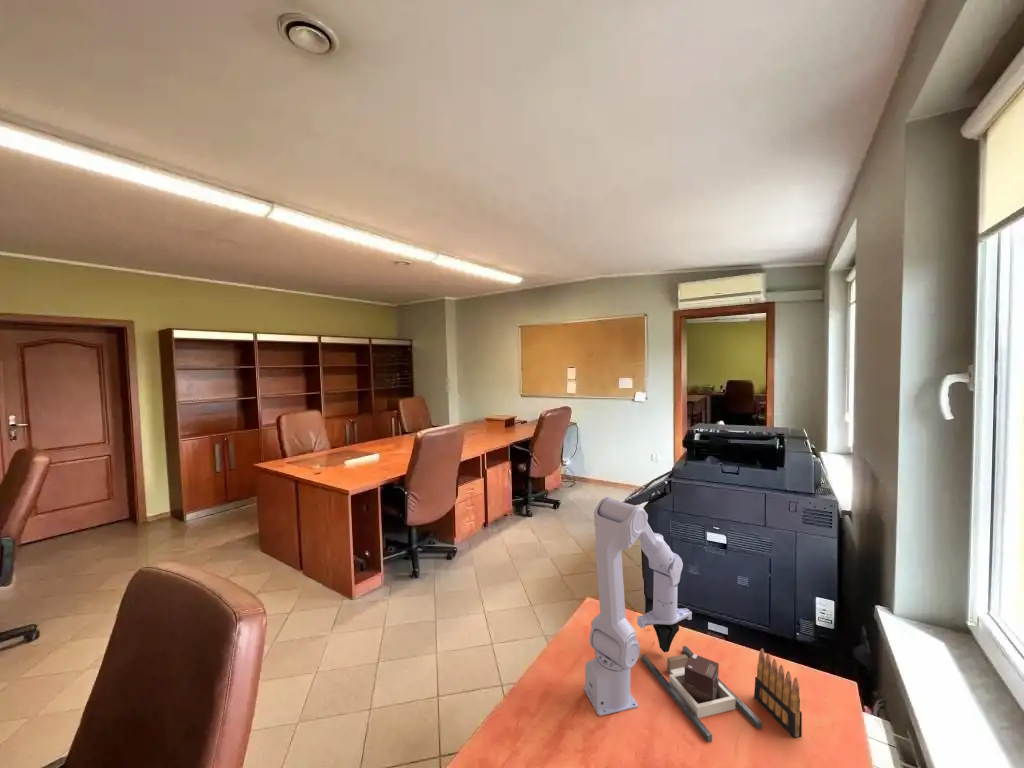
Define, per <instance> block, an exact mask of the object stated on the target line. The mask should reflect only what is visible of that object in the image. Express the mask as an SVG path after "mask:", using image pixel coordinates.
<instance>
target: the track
mask: <svg viewBox="0 0 1024 768" xmlns="http://www.w3.org/2000/svg"><path fill="white" fill-rule="evenodd" d="M682 653H683V654H685V655H686V656H687V657H688V659H689V657H690V655H691V653H692V654H695V653H694V652H692V650H691V649H690V648H689V647H688V646H687V645H683V646H682ZM640 660H641V662H642V663H643V665H645V667H646V668H647V669H648V670H649V671H650V673H651V674H652V675H653V677H654V678H655V680H657V682H659V684H660V685H661V686H662V688H664V690H665V691H666V692H667V694H668V696H670V698H671V699H672V700H673V701H674V702H675V704H676V705H677V706H678V708H680V710H681V712H683V714H684V715H685V716H686V718H687V719H688V720H689V721H690V723H691V724H692V725H693V726H694V727H695V729H696V730H697V732H699V733H700V735H701V736H702V737H703V739H704V740H705V741H706V742H707V743H711V742H713V734H712V733H711V732H710V730H709V729H708V728H707V727H706V726H705V724H704V723H703V722H702V721H701V718H698V717H697V716H696V715H695V713H694V712H693V711H692V710H691V709H690V707H689V706H688V705H687V704H686V703H685V701H684V700H683V699H682V698H681V697H680V695H679V694H678V693H677V692H676V691H675V690H674V688H673V687H672V686H671V685H670V684H669V681H668V680H667V679H666V678H665V676H664V675H663V674H662V673H661V671H660V670H659V669H658V668H657V667H656V665H655V664H654V663H653V661H652V660H651V659H650V658H649V657H648V656H647V655H646V653H642V654H640ZM718 681H719V682H720V683H721V684H722V685H723V686H724V687H725V688H726V689H727V690H728V691H729V692H730V693H731V694H732V695H733V696H734V697H735V698H736V704H735V708H737V710H739V711H740V712H741V713H742V715H744V717H746V718H747V720H748V721H749V722H751V724H752V725H753V726H754V727H755V728H756V729H757V730H760V729H762V728H763V721H762V720H761V719H760V718H759V717H758V716H757V715H756V714H755V713H754V712H753V711H752V710H751V709H750V708H749V707H748V706H747V705H746V704H745V703H744V702H743V701H742V700H741V699H740V698H739V697H738V696H737V695H736V694H735V692H733V691H732V690H731V689H730V688H729V687H728V686H727V685H726V684H725V683H724V682H723V681H722V680H721V679H719V677H718Z"/></svg>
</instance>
